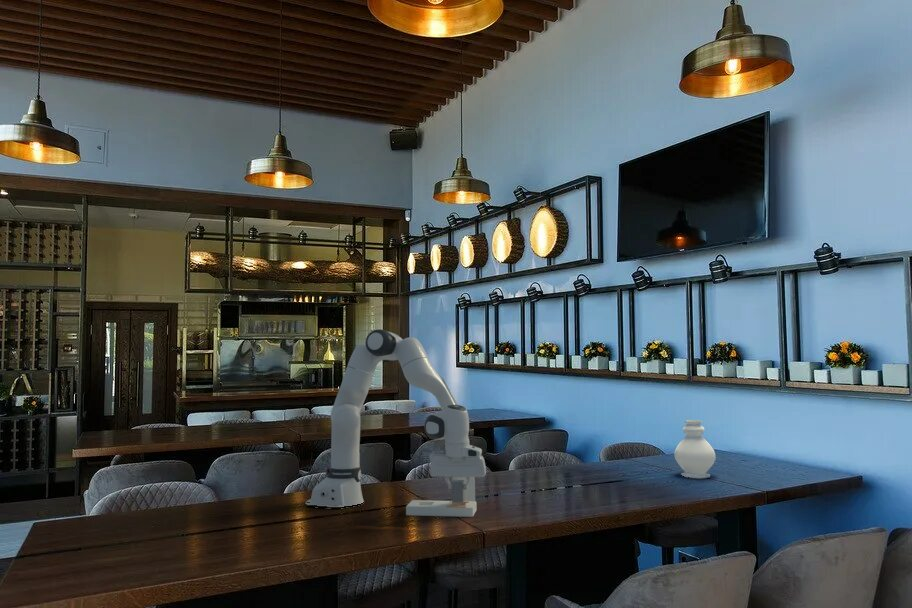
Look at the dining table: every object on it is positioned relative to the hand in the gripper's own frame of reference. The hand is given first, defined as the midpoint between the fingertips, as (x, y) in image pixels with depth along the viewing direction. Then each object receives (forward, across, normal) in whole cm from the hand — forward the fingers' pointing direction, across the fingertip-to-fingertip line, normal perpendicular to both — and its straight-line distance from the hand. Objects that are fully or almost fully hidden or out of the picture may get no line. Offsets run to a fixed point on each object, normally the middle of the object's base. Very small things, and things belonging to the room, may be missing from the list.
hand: (458, 489), depth 238 cm
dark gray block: (+4, 0, 0) cm, 4 cm away
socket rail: (+9, -6, 0) cm, 11 cm away
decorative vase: (+10, +97, +82) cm, 128 cm away
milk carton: (+10, -1, +20) cm, 22 cm away
